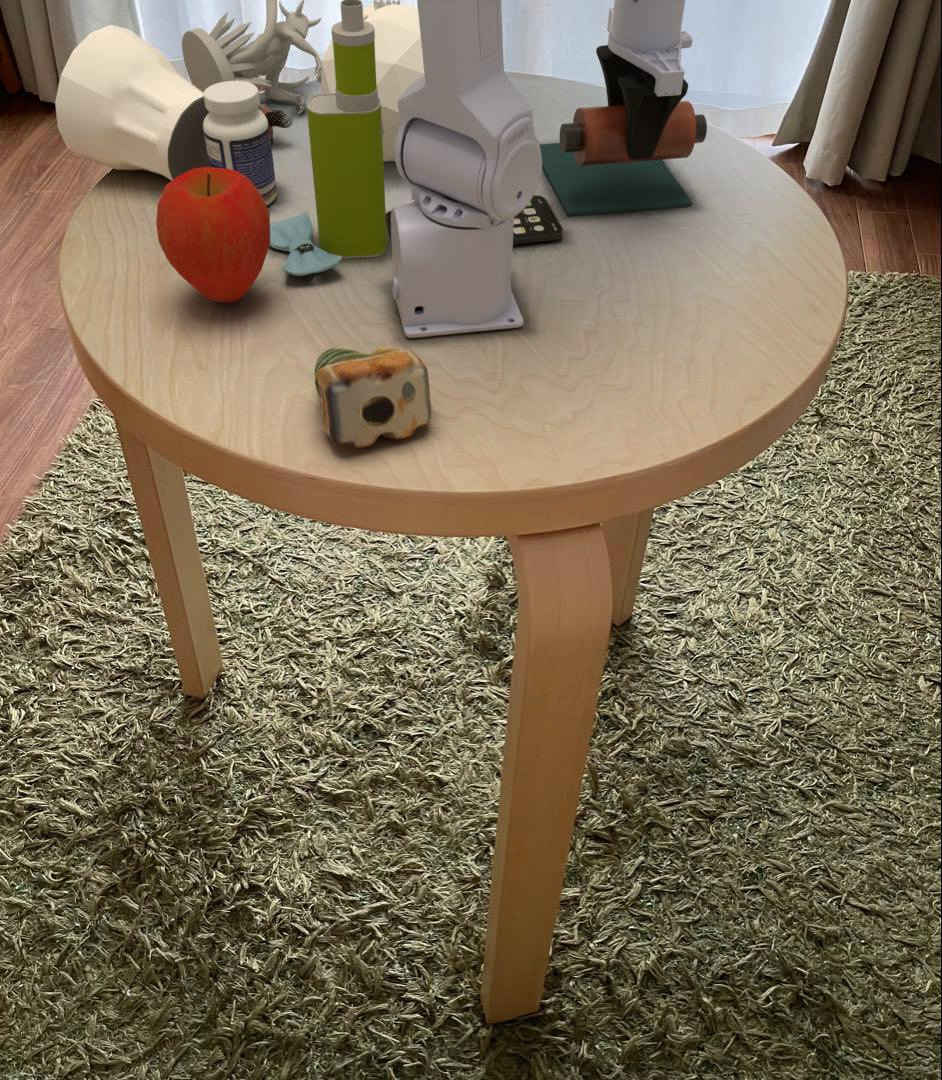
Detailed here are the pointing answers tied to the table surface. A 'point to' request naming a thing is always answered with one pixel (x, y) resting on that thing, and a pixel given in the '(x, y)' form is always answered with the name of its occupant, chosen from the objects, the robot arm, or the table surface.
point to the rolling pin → (604, 135)
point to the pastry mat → (610, 184)
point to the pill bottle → (239, 134)
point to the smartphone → (529, 223)
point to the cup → (130, 107)
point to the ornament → (372, 394)
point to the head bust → (278, 122)
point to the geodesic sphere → (387, 62)
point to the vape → (349, 145)
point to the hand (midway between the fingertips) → (631, 144)
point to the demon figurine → (250, 53)
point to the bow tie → (300, 246)
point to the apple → (214, 231)
